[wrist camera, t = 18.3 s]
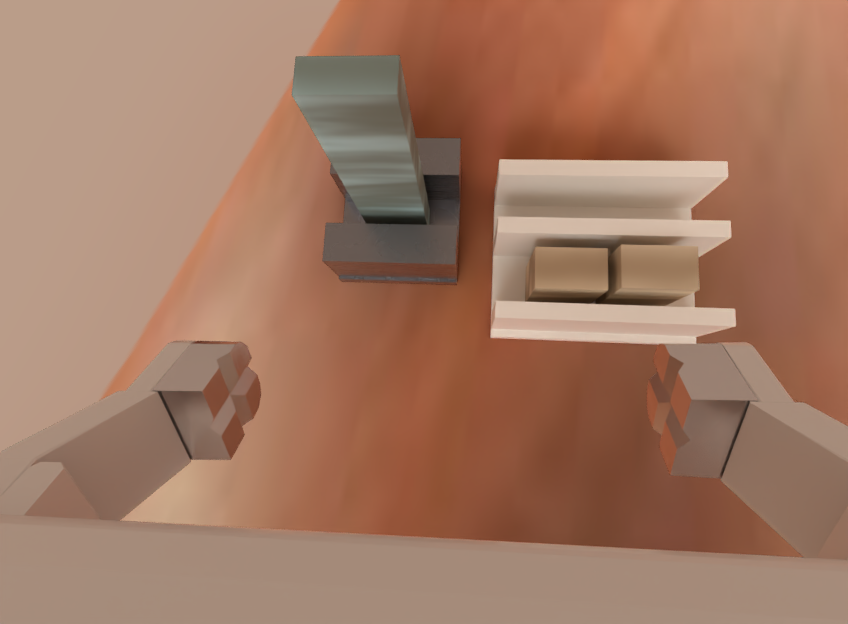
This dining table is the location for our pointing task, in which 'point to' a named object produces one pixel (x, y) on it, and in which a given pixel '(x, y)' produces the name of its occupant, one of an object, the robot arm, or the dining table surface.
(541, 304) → the white rack
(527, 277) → the birch offcut
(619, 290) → the pine offcut
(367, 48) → the dining table surface
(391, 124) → the teal board
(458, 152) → the charcoal holder
